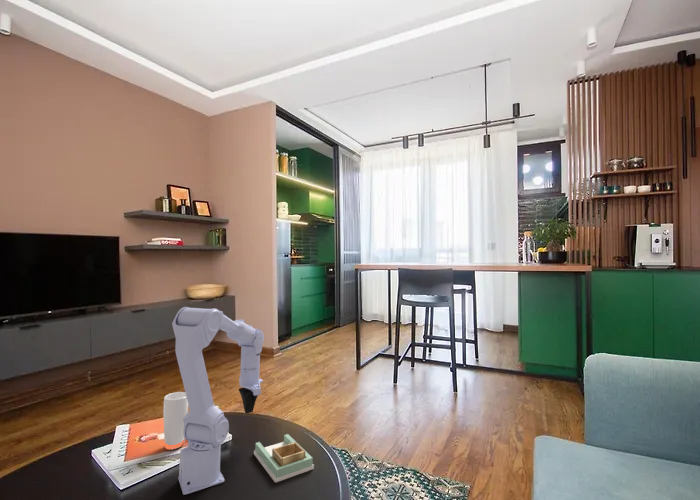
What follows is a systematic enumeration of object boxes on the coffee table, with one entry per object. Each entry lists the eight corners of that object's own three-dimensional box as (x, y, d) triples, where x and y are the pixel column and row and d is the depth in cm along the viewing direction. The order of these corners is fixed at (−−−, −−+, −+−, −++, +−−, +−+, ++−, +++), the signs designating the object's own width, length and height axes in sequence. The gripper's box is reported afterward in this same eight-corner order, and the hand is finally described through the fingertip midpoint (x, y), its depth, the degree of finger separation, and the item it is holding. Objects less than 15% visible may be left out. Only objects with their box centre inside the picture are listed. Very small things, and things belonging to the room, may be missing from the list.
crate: (280, 473, 88) (281, 459, 88) (271, 462, 93) (272, 448, 93) (305, 464, 92) (305, 451, 92) (295, 454, 97) (295, 441, 97)
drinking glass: (164, 442, 105) (166, 392, 106) (188, 439, 107) (190, 390, 108) (158, 454, 98) (161, 400, 99) (184, 450, 100) (187, 398, 101)
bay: (275, 482, 86) (275, 470, 86) (253, 454, 99) (254, 443, 99) (313, 468, 92) (314, 457, 92) (288, 443, 105) (289, 433, 105)
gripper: (271, 371, 103) (269, 417, 102) (254, 360, 115) (253, 401, 114) (248, 374, 99) (246, 423, 98) (233, 363, 111) (232, 406, 110)
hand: (248, 412), depth 106 cm, fingers closed
